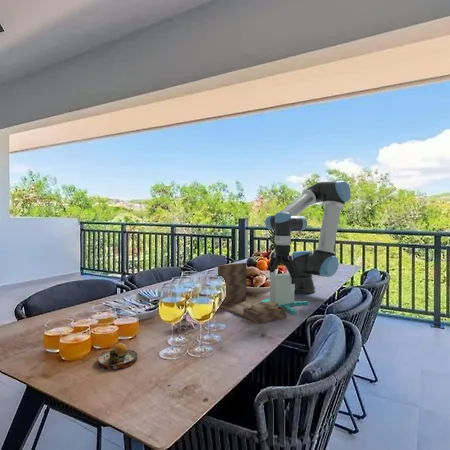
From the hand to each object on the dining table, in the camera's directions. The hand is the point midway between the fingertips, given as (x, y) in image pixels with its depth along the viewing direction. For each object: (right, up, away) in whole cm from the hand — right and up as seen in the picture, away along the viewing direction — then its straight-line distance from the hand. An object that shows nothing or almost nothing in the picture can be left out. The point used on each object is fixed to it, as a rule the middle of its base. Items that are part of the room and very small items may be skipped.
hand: (282, 287), depth 170 cm
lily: (-43, -10, -29) cm, 53 cm away
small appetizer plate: (-61, -12, -62) cm, 88 cm away
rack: (-16, -9, -10) cm, 21 cm away
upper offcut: (-11, -6, -19) cm, 22 cm away
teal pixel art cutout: (0, -10, 0) cm, 10 cm away
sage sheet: (0, -8, 0) cm, 8 cm away
